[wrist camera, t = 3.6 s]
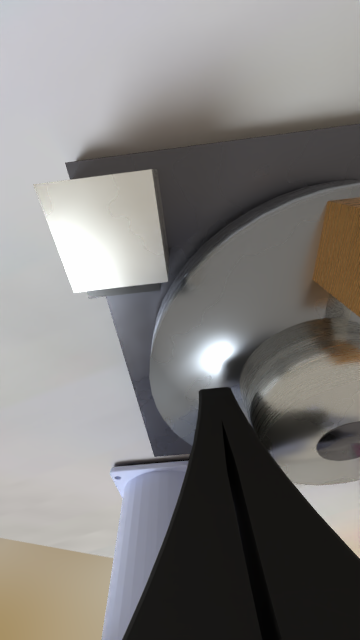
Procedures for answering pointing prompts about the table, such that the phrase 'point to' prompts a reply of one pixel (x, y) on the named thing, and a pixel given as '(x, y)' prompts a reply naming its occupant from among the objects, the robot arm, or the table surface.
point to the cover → (308, 400)
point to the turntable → (254, 293)
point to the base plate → (173, 225)
